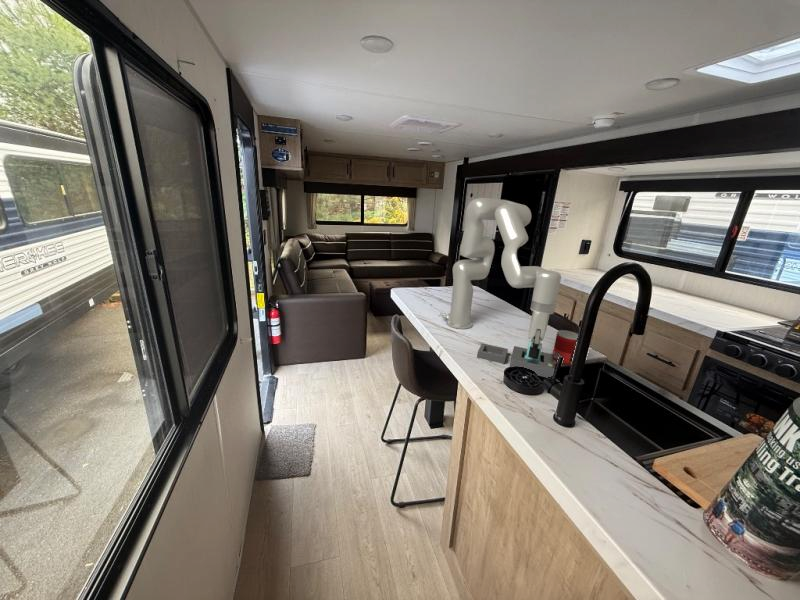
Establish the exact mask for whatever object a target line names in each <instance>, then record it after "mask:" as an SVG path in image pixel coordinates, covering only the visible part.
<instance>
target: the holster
mask: <svg viewBox="0 0 800 600" xmlns="http://www.w3.org/2000/svg"><path fill="white" fill-rule="evenodd" d="M508 351H509V348H505V347H502V346H497V345H491V344H488V343H483V342H482V343H481V344H480V346H479V348H478V350H477V353H476V358H479V359H481V360H487V361H491V362H495V363H498V364H501V365H502V364H503V365H505V363H506V359H507V356H508Z"/></svg>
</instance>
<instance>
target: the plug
mask: <svg viewBox="0 0 800 600" xmlns="http://www.w3.org/2000/svg"><path fill="white" fill-rule="evenodd" d="M531 343H532V341H531V340H529V341H528V345H527V348H526V349H527V354H526V355H525V357H524V358H527V359H531V360H535V361H540V362H541V358H540V355H541V352H542V350H543V343H542V342H541V343H540V351H539V356H538V359H535V358H530V357H528V355H529V350H530V346H531Z"/></svg>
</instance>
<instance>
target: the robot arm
mask: <svg viewBox="0 0 800 600" xmlns="http://www.w3.org/2000/svg"><path fill="white" fill-rule="evenodd" d="M464 217H465V221H464V222H465V224H464V229H463V235H462V239H461V242H460V243H461V244H460V255H461V256H462V257H464V258H468V259H461V260H460V259H459V260H457V261H456V262H455V263H454V264H453V266H452V279H453V280H452V281H453V283H452V293H451V302H450V303H451V304H450V313H446V312H441V317H442V319H446V321H445V323H446V324H445V325H447V326H449V327H450V328H454V329H459V330H460V329H461V330H467V329H470V328H473V322H471V321H470V319H471V311H472V303H473V297H474V296H473V295H474V288H473V284H472V281H479V280H484V279H486V278H487V277H488V275H489V273H490V269H491V265H492V263H493V259H494V256H495V250H496V249H495V248H496V247H495V242H494V240H493V239H492V238H491V237H489V236H484V233H485V224H484V221H483V220H487V221H496V225H497V228H498V230H499V233H500V235H501V238H502V241H503V244H504V248H503V251H502V254H501V268H502V271H503V274H504V277H505V280H506V282H507V283H508V284H509V286H511V287H512V288H516V289H523V288H525V289H526V288H533V292H532V293H533V294H532V297H531V304H530V307H529V308H530V310H531V311H532V315H531V318H530V324H529V328H528V334H527V335H528V336H527V337H528V339H529V340H530V339H531V340H530V341H532V343H531V346H530V350H529V355H528V357H530V358H535V359H538V356H539V351H540V343H542V342H543V341H544V339H545V335H546V332H547V327H548V325H549V324H548V323H549V319H550V315H553V314H555V309H556V304H557V301H558V300H557V299H558V295H559V290H560V285H561V281H562V275H561V273H560V272H557V271H556V270H550V269H549V270H548V269H545V268H543V267H541V266H536V265H531V266H529V265H528V266H526V265H525V266H521V264H520V262H519V260H518V250H519V248H520V247H523V245H525V244H526V243H527V242H528V241H529V236H528V233H527V231H526V228H525V227H527V225H529V224H530V223H531V220H532V212H531V209H530V208H529V207H528V206H527V205H525V204H521V203H517V202H515V201H511V200H508V199H499V198H498V199H497V198H488V197H477V198H475V199H473V200H471V201H470V202H469V204H468V205H467V207H466V210H465V216H464ZM475 258H476V259H475Z"/></svg>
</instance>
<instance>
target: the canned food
mask: <svg viewBox="0 0 800 600" xmlns="http://www.w3.org/2000/svg"><path fill="white" fill-rule="evenodd" d="M578 334H579V333H577V332H574V331H570V330H564V329H563V330H562V329H561V330H560V329H559V330H557V332H556V336H555V341H554V345H553V350H552V354H554V362H556V363H558V362H557V360H558V357H559V356H562V357H563V358H564V360H563V364H562V365H565V364H566V366H571V365H570V364H571V362H572V358H573V354H574V350H575V346H576V342H577V338H578Z"/></svg>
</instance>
